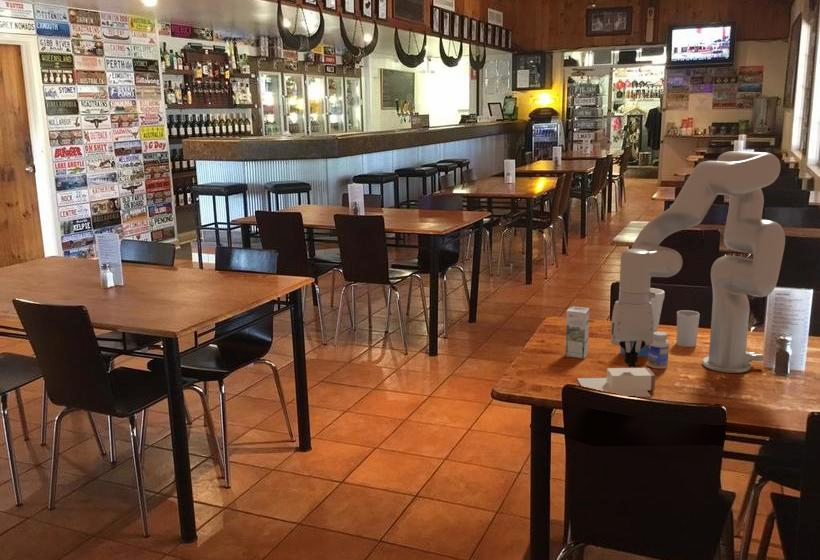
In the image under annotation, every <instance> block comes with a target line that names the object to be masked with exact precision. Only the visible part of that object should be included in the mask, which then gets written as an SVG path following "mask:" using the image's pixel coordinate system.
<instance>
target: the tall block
mask: <svg viewBox="0 0 820 560" xmlns="http://www.w3.org/2000/svg"><path fill="white" fill-rule="evenodd" d="M605 378H606V383H607V384H608V386H609V387H610V389H611V390H612V391H622V390H647V391H655V390H656V375H655V373H654V372H653V371H652V370H651V369H650V368H649V367H615V368H614V367H612V368H611V367H610V368H609V367H608V368H606V377H605Z"/></svg>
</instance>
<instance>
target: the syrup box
mask: <svg viewBox="0 0 820 560" xmlns="http://www.w3.org/2000/svg"><path fill="white" fill-rule="evenodd" d="M565 321H566V325H565V357H566V358H573V359H581V360H584V359H585V358H586V357H587V355H588V354H589V330H590V329H589V326H590V307H581V306H570V307H568V309H567V310H566V319H565Z"/></svg>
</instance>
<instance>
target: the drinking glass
mask: <svg viewBox="0 0 820 560" xmlns="http://www.w3.org/2000/svg"><path fill="white" fill-rule="evenodd" d="M700 315H701V314H700V313H699V311H695V310H687V309H686V310H685V309H684V310H683V309H681V310H678V311H676V345H677V346H680V347H684V348H692V347H697V343H698V342H697V341H698V334H699V333H698V332H699V324H700V323H699V322H700Z"/></svg>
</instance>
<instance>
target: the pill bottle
mask: <svg viewBox="0 0 820 560" xmlns="http://www.w3.org/2000/svg"><path fill="white" fill-rule="evenodd" d="M667 339H668V333H667V332H666V331H658V330H657V331H654V335H653V344H650V345H649V352H648V357H647V365H648V366H649V367H650V368H653V369H660V370H661V369H667V367H668V366H669V364H668V363H669V352H670V351H669V350H670V343H669V340H667Z"/></svg>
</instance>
